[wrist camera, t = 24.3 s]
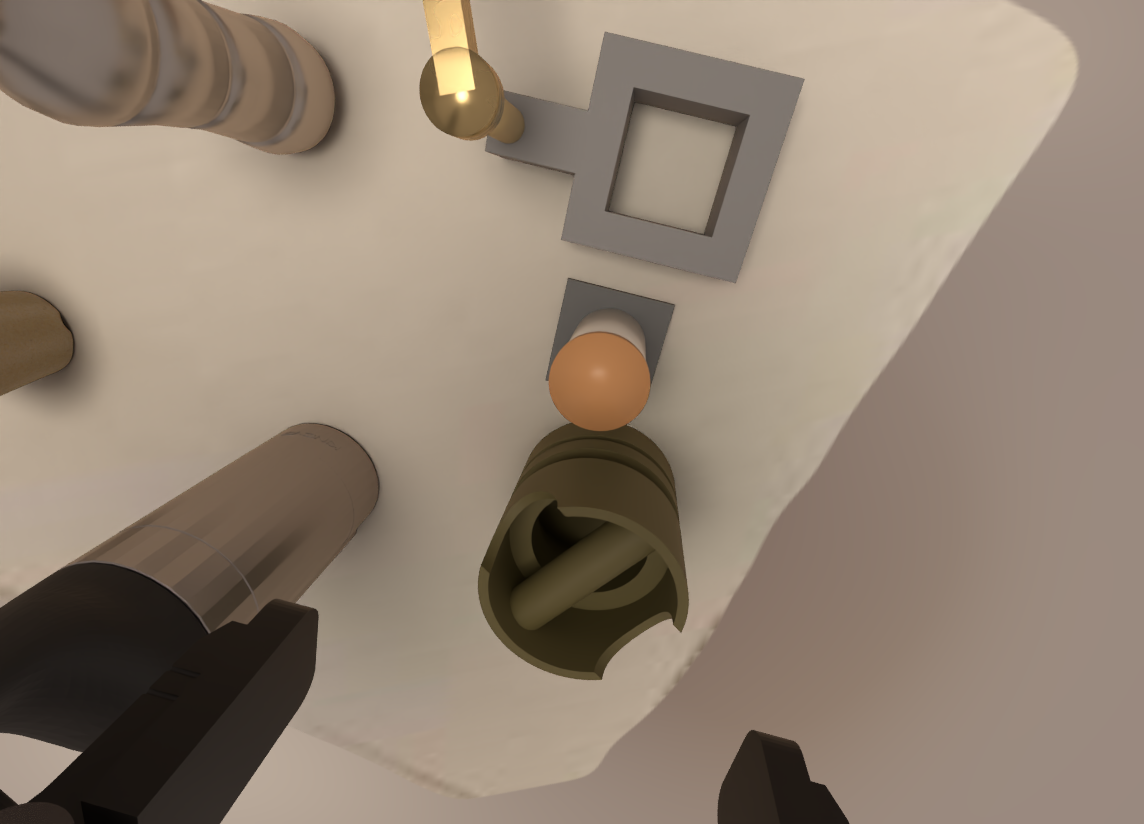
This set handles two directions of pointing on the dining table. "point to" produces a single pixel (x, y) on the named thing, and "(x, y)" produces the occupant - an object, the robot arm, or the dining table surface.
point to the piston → (585, 552)
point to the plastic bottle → (166, 69)
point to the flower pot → (30, 340)
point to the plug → (602, 372)
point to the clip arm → (458, 75)
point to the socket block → (599, 137)
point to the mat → (594, 297)
